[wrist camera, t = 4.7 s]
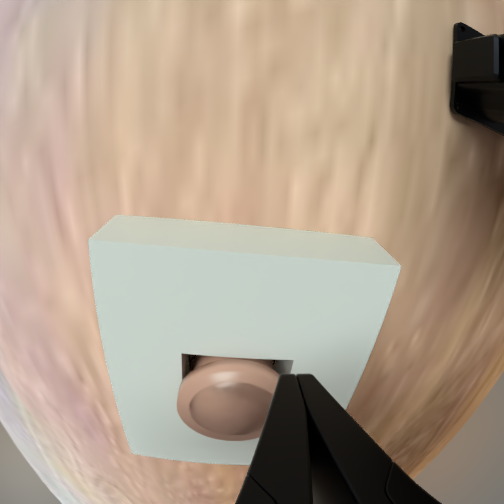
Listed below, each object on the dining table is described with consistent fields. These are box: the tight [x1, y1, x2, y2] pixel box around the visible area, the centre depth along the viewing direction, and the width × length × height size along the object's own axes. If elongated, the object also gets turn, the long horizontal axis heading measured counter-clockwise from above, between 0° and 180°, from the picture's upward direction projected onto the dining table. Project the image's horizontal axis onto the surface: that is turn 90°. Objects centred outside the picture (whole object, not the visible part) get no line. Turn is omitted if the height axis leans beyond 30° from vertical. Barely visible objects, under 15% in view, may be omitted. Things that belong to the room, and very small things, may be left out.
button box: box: [88, 215, 401, 465], centre depth 19 cm, size 15×18×4 cm
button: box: [177, 355, 280, 441], centre depth 18 cm, size 6×6×4 cm
